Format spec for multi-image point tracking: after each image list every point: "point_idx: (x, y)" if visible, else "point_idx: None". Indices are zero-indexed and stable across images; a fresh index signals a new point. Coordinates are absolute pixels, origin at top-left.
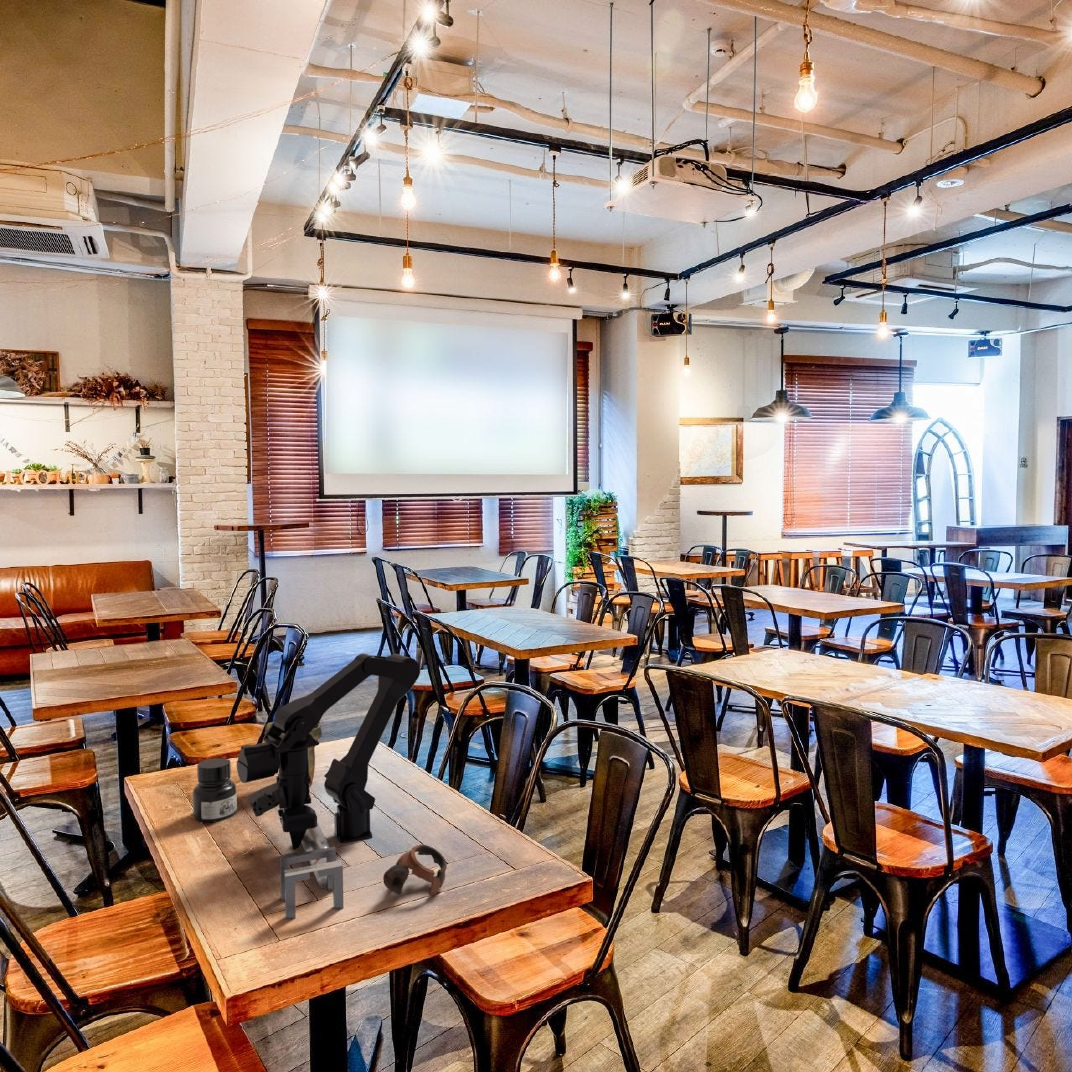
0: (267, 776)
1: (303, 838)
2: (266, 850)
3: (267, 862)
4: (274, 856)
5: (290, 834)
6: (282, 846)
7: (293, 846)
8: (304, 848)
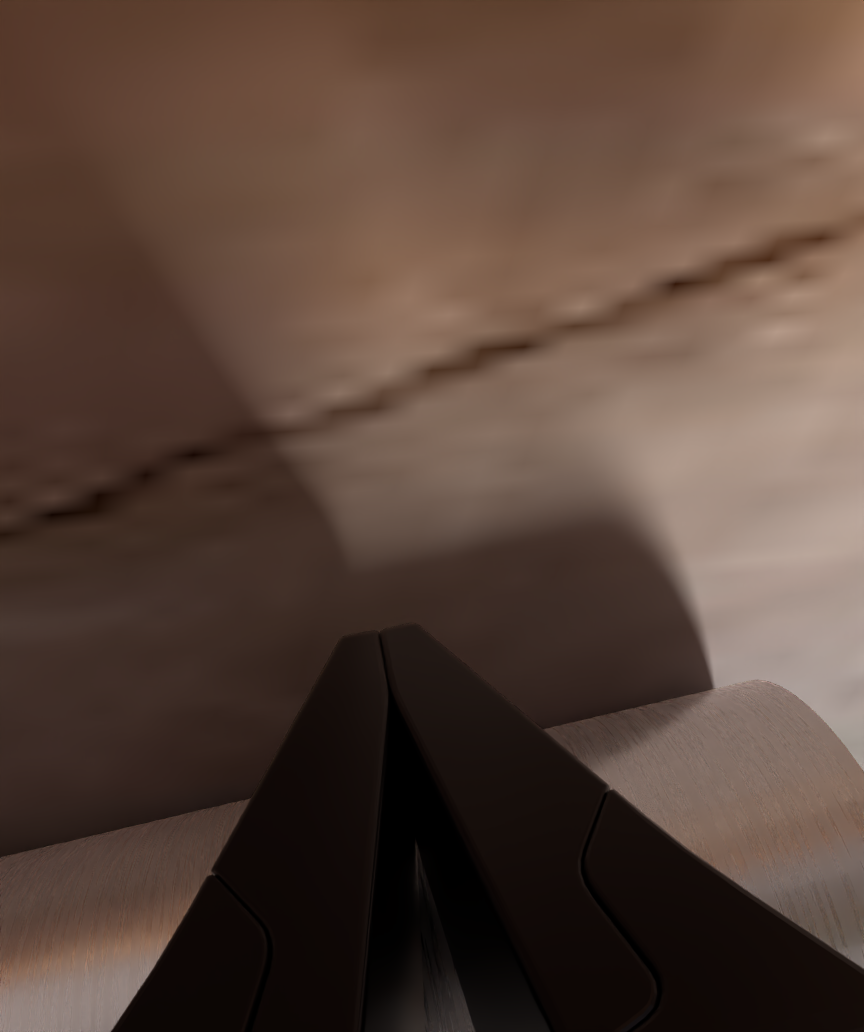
0: None
1: None
2: (703, 71)
3: (87, 113)
4: (361, 256)
5: (184, 924)
6: (742, 380)
7: (327, 677)
8: (65, 907)
